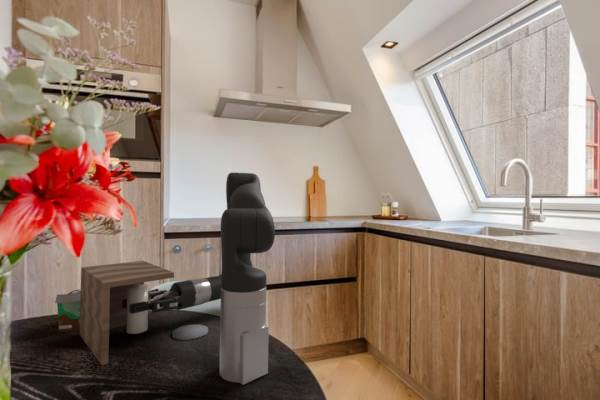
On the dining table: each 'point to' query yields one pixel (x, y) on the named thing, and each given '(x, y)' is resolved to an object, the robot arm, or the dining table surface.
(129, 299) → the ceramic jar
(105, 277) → the walnut cubby
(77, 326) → the food container
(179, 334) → the grey coaster
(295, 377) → the dining table surface
